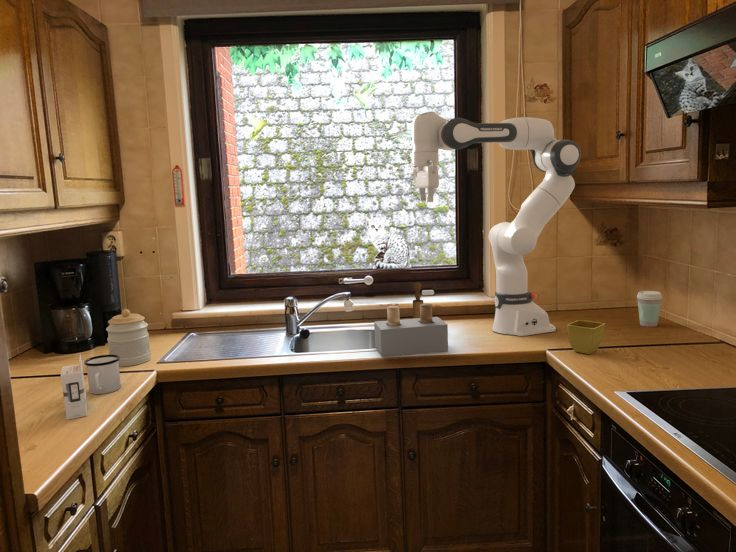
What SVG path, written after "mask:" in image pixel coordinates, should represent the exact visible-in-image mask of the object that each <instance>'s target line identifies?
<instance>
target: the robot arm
mask: <svg viewBox="0 0 736 552" xmlns="http://www.w3.org/2000/svg"><path fill="white" fill-rule="evenodd" d="M411 139H412V140H411V141H412V145H413V147H412V157H411V158H412V159H411V162H410V163H411V164H410V166H411V168H412V174H413V175H412V176H413V184H414V188H415V189H418V193H419V200H420V202H428V203H433V202H434V195H435V189H438V188H439V186H440V179H439V169H438V166H440V164H439V163H440V162H439V159H440V158H439V155H440V154H439V150H444V151H454V150H463V149H465V148H467V147H470V146H471V145H474V144H482V143H483V144H485V143H497V144H499V146H500V147H501V148H503V149H505V150H506V149H507V150H513V151H526V150H529V151H530V153H531V159H532V164H533V165H534V167H535V168H536V169H537V170H538V171H540V172H543V173H545V175H544V178H543V179H542V182H540V183H539V184H538V185H537V186H536V187H535V189H534V190H533V191H532V192H531V193H530V194H529V195H528V197H527V198H525V200H524V201H523V202H522V204H521V205H520V209H519V210H518V213H517V214H516V217H515V218H514V219H513V220H512V221H511V222H508V221H502V222H500V223H497V224H495V225H493V226H492V227H491V228H490V230H489V232H488V242H489V243H490V245H491V250H492V255H493V256H492V257H493V263H494V266H495V293H494V306H495V313H494V318H493V319H494V321H493V324H492V328H491V331H493V333H494V332H495V333H498V334H504V335H512V336H513V335H514V336H518V337H527V336H531V335H538V334H544V333H552V332H556V331H557V329H556V326H555V325H553V324H552V323H550V317H549V315H548V312H546V310H544V309H543V308H542V307H540V306H539V305H538V304H536V303H535V302H534V301H533V300H537V299H538V295H537V293H535V292H533V293H532V292H531V291H528V286H529V285H528V278H529V277H528V274H529V273H528V268H527V266H526V264H525V261H524V257H523V256H525V255H528V254H530V253H532V252H533V251H534V250H535V248H536V246H537V243H538V238H539V236H540V235H541V233H542V231H543V230H544V228H545V226H546V225H547V223H549V221H550V220H551V219H552V218H553V217H554V215H555V214H556V213H557V212H558V211H559V210H560V209H561V208H562V207H563V205H564V204H565V203H566V202H567V200H568V199H569V197H570V195H571V194H572V193H573V190H574V189H575V187H576V184H575V183H576V182H575V180H574V178H573V176H572V175H573V174H575V173H576V172H577V167H578V165H579V163H580V161H581V158H582V151H581V150H582V149H581V147H580V145H578V144H577V143H576V142H575V141H573V140H570V139H557V138H556V137H555V129H554V126H553V123H552V122H551V121H549V120H548V119H544V118H539V117H528V116H527V117H512V118H507V119H503V120H502V121H501V122H496V123H495V122H493V123H491V122H489V123H488V122H486V123H485V122H484V123H481V122H480V123H478V122H473V121H471V120H469V119H466V118H464V117H454V118H451V119H450V120H449V119H446V118H444V117H443V116H440V115H438V114H437V113H436V112H435V111H426V112H422V113H418V114H417V115H415V116H414V118H413V119H412V125H411ZM426 190H427V195H426Z"/></svg>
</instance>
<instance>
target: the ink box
mask: <svg viewBox="0 0 736 552" xmlns="http://www.w3.org/2000/svg"><path fill="white" fill-rule="evenodd" d="M81 353H82V352H81ZM81 353H79V358H78V360H79V361H78V362H79V364H71V365H65V366H62V367H61V371H60V381H61V387H62V395H63V402H64V403H63V404H64V411H65V418H66V419H65V420H67V421H68V420H72V419H78V418H79V419H80V418H83V417H84V418H85V417H87V416H88V402H87V400H88V399H87V394H86V393H87V392H86V385H85V383H86V382H85V377H84V368H83V367H84V366H83V361H82V356H81Z"/></svg>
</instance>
